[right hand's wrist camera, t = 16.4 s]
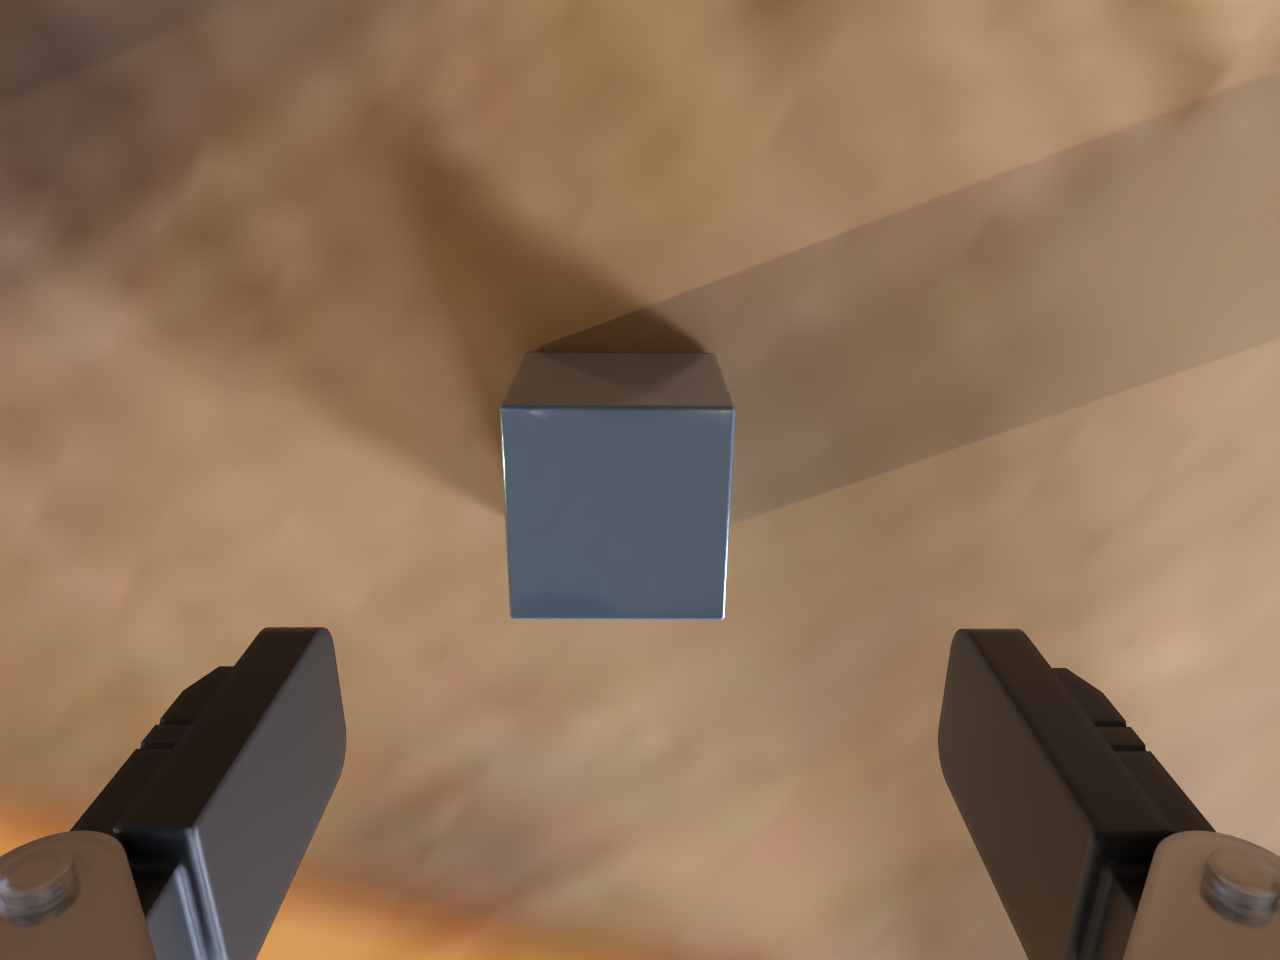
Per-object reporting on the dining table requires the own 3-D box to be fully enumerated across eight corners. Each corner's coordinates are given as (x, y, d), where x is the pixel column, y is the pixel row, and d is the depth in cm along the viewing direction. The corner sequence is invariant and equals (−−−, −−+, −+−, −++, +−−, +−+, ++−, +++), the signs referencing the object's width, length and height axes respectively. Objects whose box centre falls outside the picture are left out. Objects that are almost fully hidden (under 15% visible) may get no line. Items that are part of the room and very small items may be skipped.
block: (708, 534, 21) (725, 621, 18) (531, 533, 21) (509, 620, 18) (716, 352, 20) (736, 406, 16) (524, 351, 20) (498, 404, 16)
